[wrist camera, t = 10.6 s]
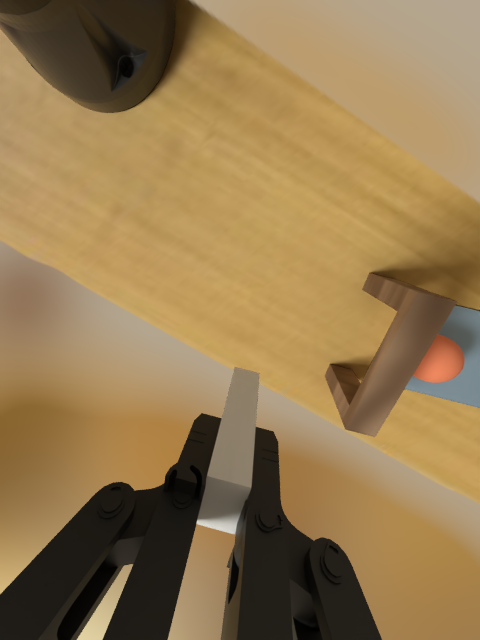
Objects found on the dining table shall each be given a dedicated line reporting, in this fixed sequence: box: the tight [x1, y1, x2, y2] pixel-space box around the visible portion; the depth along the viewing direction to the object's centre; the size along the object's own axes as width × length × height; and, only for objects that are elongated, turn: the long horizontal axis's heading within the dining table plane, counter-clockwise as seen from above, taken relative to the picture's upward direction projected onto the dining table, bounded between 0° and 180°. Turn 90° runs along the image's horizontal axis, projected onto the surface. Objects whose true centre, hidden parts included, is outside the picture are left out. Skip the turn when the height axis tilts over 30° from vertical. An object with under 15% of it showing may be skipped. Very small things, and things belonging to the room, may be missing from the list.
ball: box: [413, 334, 465, 383], centre depth 26 cm, size 6×6×6 cm
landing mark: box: [405, 305, 480, 408], centre depth 28 cm, size 12×12×1 cm
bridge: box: [325, 273, 457, 437], centre depth 24 cm, size 3×14×9 cm, turn 168°
